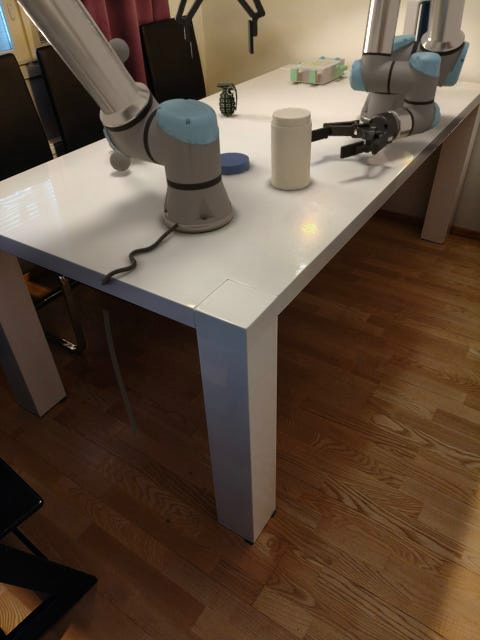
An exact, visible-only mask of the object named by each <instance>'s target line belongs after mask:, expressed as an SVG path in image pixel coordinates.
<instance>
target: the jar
mask: <svg viewBox="0 0 480 640" xmlns="http://www.w3.org/2000/svg"><path fill="white" fill-rule="evenodd" d="M271 114H272V115H271V118H272V119H271V121H270V175H271V176H270V180H271V182H270V183H271V185H272V186H273V187H274V188H276V189H279V190H284V191H295V190H296V191H297V190H302V189H304V188H306V187H308V186H309V185H310V183H311V181H310V180H311V161H312V159H311V157H312V142H311V135H312V130H313V120H312V119H311V118H312V117H311V116H312V111H311V110H309V109H306V108H302V107H285V108H280V109H279V108H278V109H277V110H274V111H273V112H272V113H271Z"/></svg>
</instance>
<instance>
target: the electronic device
mask: <svg viewBox="0 0 480 640" xmlns="http://www.w3.org/2000/svg"><path fill="white" fill-rule="evenodd" d="M430 3H431V0H407V1H406V7H405V14H404V15H405V16H404V23H403V30H402V35H415V37H416V40H415V41H421V38H422V36H423V35H424V34H425V33H426V32H427V31H428V21H429V12H430ZM418 21H419V22H418Z"/></svg>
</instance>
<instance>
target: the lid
mask: <svg viewBox="0 0 480 640" xmlns="http://www.w3.org/2000/svg"><path fill="white" fill-rule="evenodd" d="M220 156H221V174H222V175H237V174H241V173H245V172H246V171H248V170H249V168H250V157H249V155H247V154H245V153H242V152H223V153H220Z"/></svg>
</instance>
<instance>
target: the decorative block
mask: <svg viewBox="0 0 480 640" xmlns="http://www.w3.org/2000/svg"><path fill="white" fill-rule="evenodd" d="M345 60H346V59H345V58H340V57H325V56H320V57H317V58H314V59H312V58H311V59H309V60H305V61H304V62H301V61H296V62H295V65H293V66H292V67H291V68H290V82H294V83H302V84H303V83H305V84H313V85H325V84H327V83H330V82H332V81H334V80H336V79H338V78H340V77H342V75H343V74H344V72H345V71H347V70H348V67H349V65H345V63H346V62H345Z"/></svg>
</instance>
